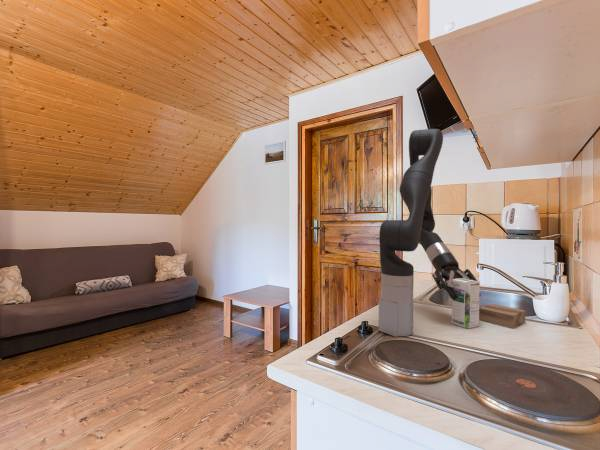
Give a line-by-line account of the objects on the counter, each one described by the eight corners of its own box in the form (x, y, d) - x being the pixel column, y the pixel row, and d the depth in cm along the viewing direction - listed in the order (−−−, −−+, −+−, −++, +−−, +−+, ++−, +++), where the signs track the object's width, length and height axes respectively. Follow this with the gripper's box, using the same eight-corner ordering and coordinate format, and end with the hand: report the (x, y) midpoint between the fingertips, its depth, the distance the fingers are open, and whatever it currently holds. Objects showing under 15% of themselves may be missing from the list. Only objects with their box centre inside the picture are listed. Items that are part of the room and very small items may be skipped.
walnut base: (513, 328, 90) (513, 315, 90) (478, 319, 98) (478, 308, 98) (525, 322, 96) (525, 310, 96) (491, 314, 104) (491, 303, 104)
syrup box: (450, 323, 95) (451, 278, 95) (463, 321, 97) (463, 277, 97) (467, 329, 89) (468, 282, 89) (479, 326, 92) (480, 280, 92)
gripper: (429, 251, 99) (455, 293, 88) (463, 251, 103) (492, 290, 92) (419, 265, 104) (442, 306, 93) (452, 264, 108) (478, 303, 97)
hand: (467, 298), depth 93 cm, fingers open, 8 cm apart
